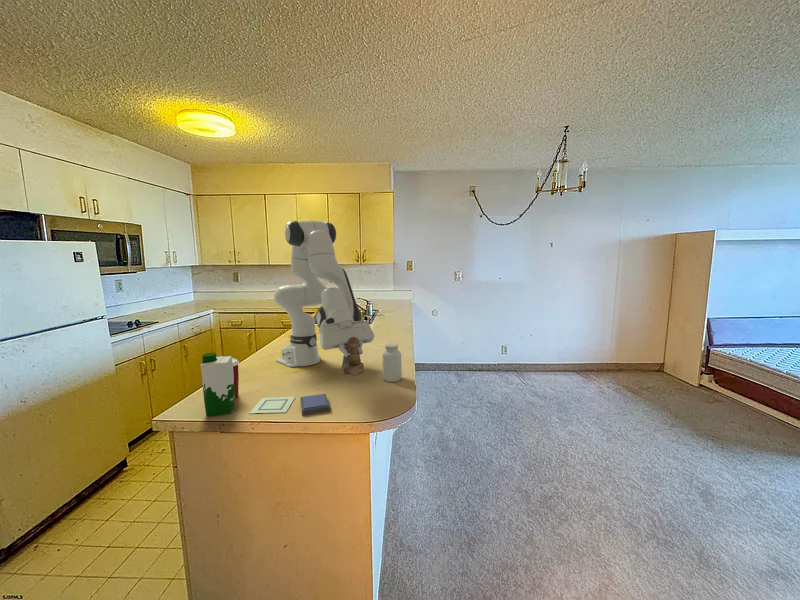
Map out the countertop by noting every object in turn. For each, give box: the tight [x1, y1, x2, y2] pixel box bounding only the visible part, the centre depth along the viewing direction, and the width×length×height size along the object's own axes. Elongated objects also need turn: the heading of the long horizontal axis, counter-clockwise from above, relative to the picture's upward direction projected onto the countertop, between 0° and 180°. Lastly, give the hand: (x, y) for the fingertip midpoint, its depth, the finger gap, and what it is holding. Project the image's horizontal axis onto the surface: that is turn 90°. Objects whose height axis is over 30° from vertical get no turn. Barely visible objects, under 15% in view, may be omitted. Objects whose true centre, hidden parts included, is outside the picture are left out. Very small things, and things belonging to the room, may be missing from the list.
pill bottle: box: [382, 343, 402, 383], centre depth 140 cm, size 8×8×15 cm
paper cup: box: [232, 357, 240, 399], centre depth 122 cm, size 8×8×14 cm
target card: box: [249, 396, 296, 415], centre depth 116 cm, size 12×12×1 cm
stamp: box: [343, 337, 365, 377], centre depth 118 cm, size 5×5×13 cm
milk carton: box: [200, 352, 236, 417], centre depth 111 cm, size 9×9×20 cm
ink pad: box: [299, 393, 331, 416], centre depth 115 cm, size 11×9×2 cm
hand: (354, 355), depth 117 cm, fingers closed on stamp, 4 cm apart
